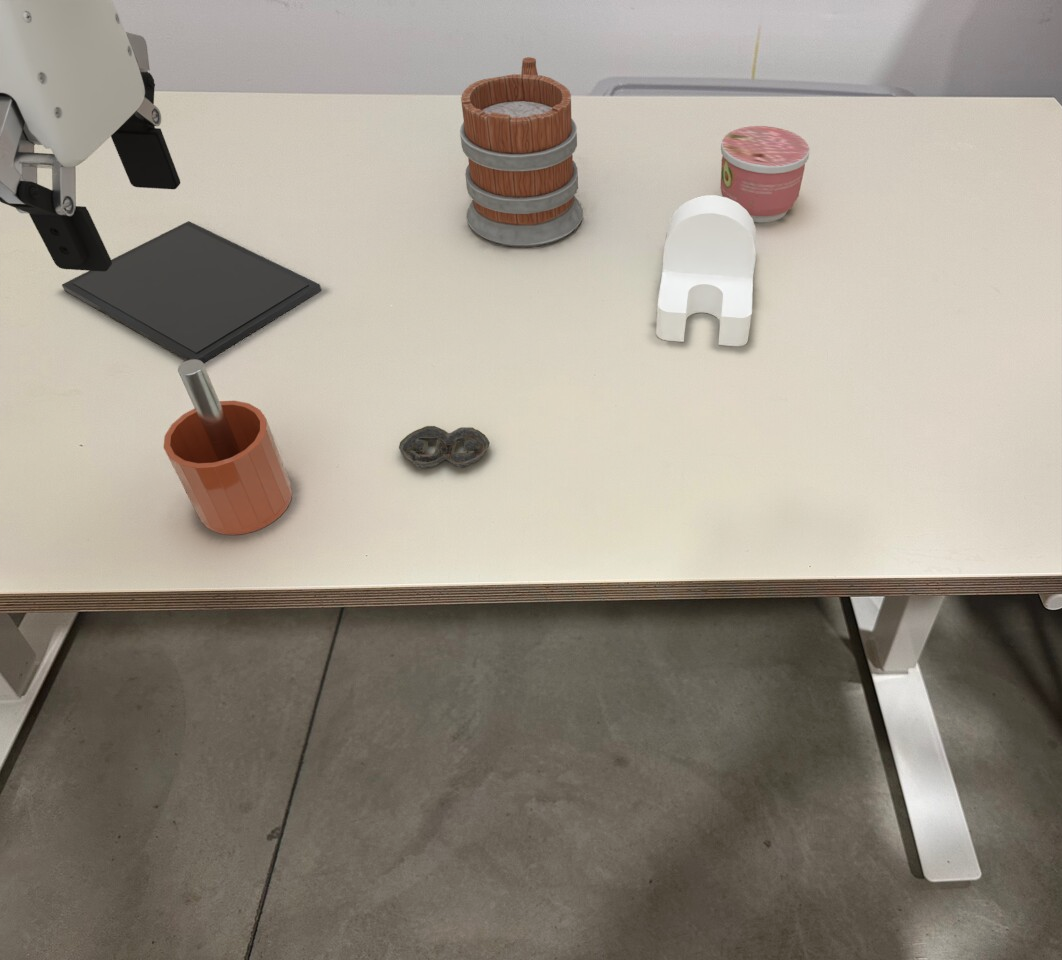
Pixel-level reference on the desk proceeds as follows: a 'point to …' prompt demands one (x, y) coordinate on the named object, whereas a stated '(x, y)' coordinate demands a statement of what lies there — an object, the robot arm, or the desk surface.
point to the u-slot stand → (708, 269)
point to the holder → (231, 471)
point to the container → (763, 170)
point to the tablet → (192, 291)
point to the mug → (520, 158)
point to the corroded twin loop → (444, 446)
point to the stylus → (208, 408)
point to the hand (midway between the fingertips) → (123, 224)
